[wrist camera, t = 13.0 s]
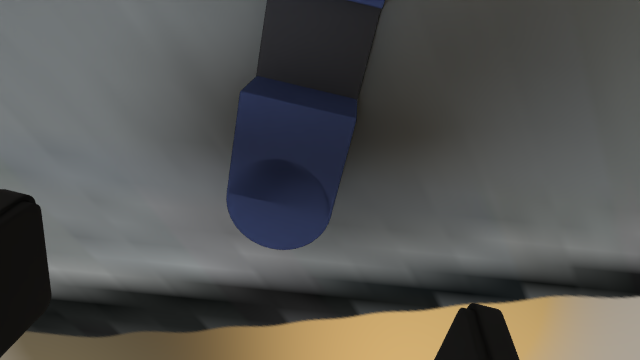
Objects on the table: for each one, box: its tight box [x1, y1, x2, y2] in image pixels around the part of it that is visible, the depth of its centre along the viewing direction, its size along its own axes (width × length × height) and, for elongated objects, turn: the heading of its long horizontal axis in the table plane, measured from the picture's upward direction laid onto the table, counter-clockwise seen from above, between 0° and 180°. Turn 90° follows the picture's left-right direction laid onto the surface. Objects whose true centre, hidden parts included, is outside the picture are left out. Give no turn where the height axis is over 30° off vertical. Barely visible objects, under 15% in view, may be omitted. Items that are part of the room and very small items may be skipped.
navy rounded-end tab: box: [226, 0, 385, 250], centre depth 20 cm, size 12×5×4 cm, turn 168°
